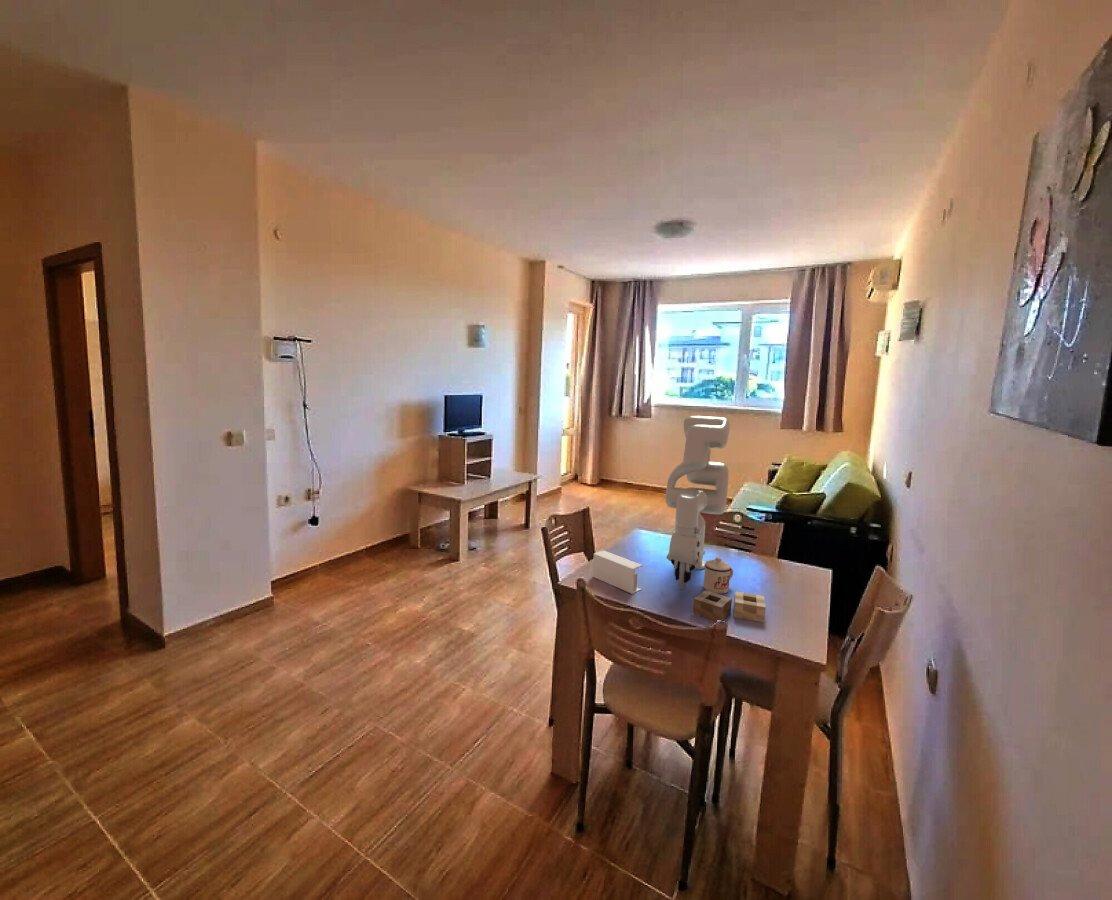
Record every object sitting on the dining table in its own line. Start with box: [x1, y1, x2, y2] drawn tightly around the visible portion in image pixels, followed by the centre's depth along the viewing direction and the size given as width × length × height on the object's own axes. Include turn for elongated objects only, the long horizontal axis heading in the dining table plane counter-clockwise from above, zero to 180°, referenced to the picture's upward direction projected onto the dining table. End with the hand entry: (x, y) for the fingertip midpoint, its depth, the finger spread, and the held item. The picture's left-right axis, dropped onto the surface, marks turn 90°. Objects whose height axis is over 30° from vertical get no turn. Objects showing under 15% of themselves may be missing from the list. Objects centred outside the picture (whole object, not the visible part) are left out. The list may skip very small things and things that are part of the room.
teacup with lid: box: [703, 556, 734, 595], centre depth 184 cm, size 12×9×12 cm
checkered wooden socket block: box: [733, 590, 766, 623], centre depth 166 cm, size 9×9×5 cm
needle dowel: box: [677, 562, 687, 591], centre depth 179 cm, size 3×3×12 cm
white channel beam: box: [592, 550, 644, 595], centre depth 186 cm, size 20×6×9 cm, turn 42°
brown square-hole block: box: [692, 589, 733, 622], centre depth 165 cm, size 9×9×5 cm
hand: (682, 579), depth 179 cm, fingers closed on needle dowel, 2 cm apart
